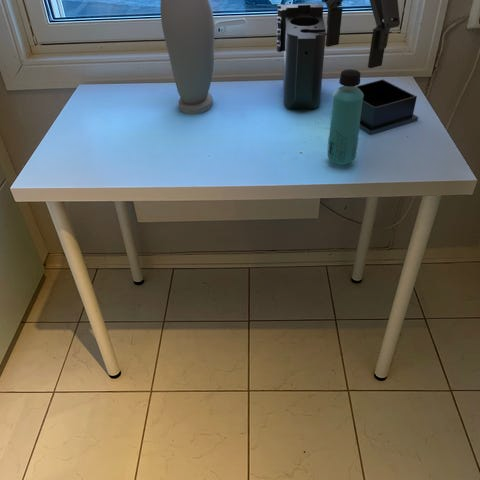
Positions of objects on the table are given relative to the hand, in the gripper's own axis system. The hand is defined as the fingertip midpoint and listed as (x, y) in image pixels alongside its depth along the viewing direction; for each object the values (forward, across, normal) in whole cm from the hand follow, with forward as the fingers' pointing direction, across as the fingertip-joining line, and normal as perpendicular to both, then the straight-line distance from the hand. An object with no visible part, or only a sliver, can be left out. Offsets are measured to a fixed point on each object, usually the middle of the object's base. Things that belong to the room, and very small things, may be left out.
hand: (352, 55), depth 102 cm
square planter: (+23, -15, +22) cm, 35 cm away
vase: (+24, -46, -15) cm, 54 cm away
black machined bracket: (+23, -35, +11) cm, 43 cm away
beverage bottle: (+23, 0, 0) cm, 23 cm away
